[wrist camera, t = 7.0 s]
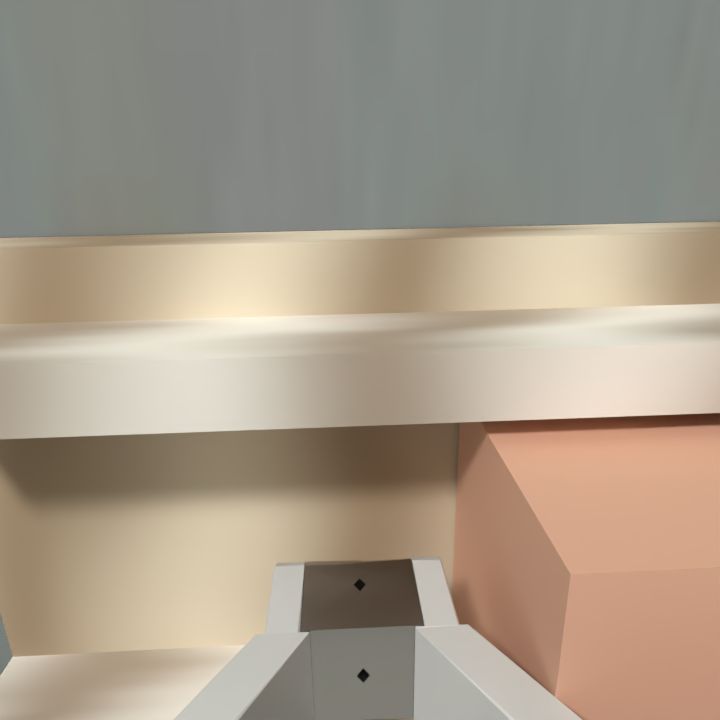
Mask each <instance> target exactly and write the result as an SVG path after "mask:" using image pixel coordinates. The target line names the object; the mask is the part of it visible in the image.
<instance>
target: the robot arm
mask: <svg viewBox="0 0 720 720" xmlns="http://www.w3.org/2000/svg"><path fill="white" fill-rule="evenodd" d="M407 718H414V720H582V719H581V718H580V717H578V716H577V715H576V714H575V713H574V712H572V711H571V710H570V709H569V708H568V707H566V706H565V705H564V704H563V703H562V702H560V701H559V700H558V699H557V698H555V697H554V696H553V695H552V694H551V693H550V692H548V691H547V690H546V689H545V688H544V687H543V686H541V685H540V684H539V683H538V682H537V681H535V680H534V679H533V678H532V677H531V676H529V675H528V674H527V673H526V672H525V671H523V670H522V669H521V668H520V667H519V666H517V665H516V664H515V663H514V662H513V661H511V660H510V659H509V658H508V657H507V656H505V655H504V654H503V653H502V652H501V651H499V650H498V649H497V648H496V647H495V646H494V645H492V644H491V643H490V642H489V641H488V640H486V639H485V638H484V637H483V636H482V635H480V634H479V633H478V632H477V631H476V630H474V629H473V628H472V627H471V626H470V625H468V624H466V625H460V624H459V621H458V617H457V614H456V610H455V607H454V603H453V600H452V596H451V593H450V589H449V585H448V582H447V578H446V575H445V571H444V568H443V564H442V561H441V558H440V557H439V556H424V557H410V559H409V558H407V559H386V560H366V561H362V560H358V561H308V562H306V563H305V562H283V563H276V565H275V567H274V572H273V579H272V585H271V592H270V599H269V606H268V612H267V619H266V626H265V632H264V634H258V635H255V636H254V637H253V638H252V639H251V640H250V641H249V642H248V643H247V644H246V645H245V646H244V647H243V648H242V649H241V650H240V651H239V652H238V653H237V654H236V655H235V656H234V657H233V658H232V659H231V660H230V662H229V663H228V664H227V665H226V666H225V667H224V668H223V669H222V670H221V671H220V672H219V673H218V674H217V675H216V676H215V677H214V678H213V679H212V680H211V681H210V682H209V683H208V684H207V685H206V686H205V687H204V688H203V690H202V691H201V692H200V693H199V694H198V695H197V696H196V697H195V698H194V699H193V700H192V701H191V702H190V703H189V704H188V705H187V706H186V707H185V708H184V709H183V710H182V711H181V712H180V713H179V714H178V715H177V716H176V718H175V719H174V720H366V719H407Z"/></svg>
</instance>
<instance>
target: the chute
mask: <svg viewBox="0 0 720 720" xmlns="http://www.w3.org/2000/svg"><path fill="white" fill-rule="evenodd" d="M704 413H720V222H684V223H641V224H597V225H554V226H511V227H467V228H424V229H380V230H337V231H293V232H250V233H206V234H163V235H119V236H76V237H32V238H0V613H1V616H2V620H3V623H4V627H5V631H6V634H7V638H8V641H9V645H10V648H11V652H12V656H13V657H12V659H11V660H10V662H9V664H8V665H7V667H6V668H5V670H4V671H3V673H2V674H1V676H0V720H174V719H175V718H176V716H177V715H178V714H179V713H180V712H181V711H182V710H183V709H184V708H185V707H186V706H187V705H188V704H189V703H190V702H191V701H192V700H193V699H194V698H195V697H196V696H197V695H198V694H199V693H200V692H201V691H202V690H203V688H204V687H205V686H206V685H207V684H208V683H209V682H210V681H211V680H212V679H213V678H214V677H215V676H216V675H217V674H218V673H219V672H220V671H221V670H222V669H223V668H224V667H225V666H226V665H227V664H228V663H229V662H230V660H231V659H232V658H233V657H234V656H235V655H236V654H237V653H238V652H239V651H240V650H241V649H242V648H243V647H244V646H245V645H246V644H247V643H248V642H249V641H250V640H251V639H252V638H253V637H254V636H255V635H258V634H264V632H265V626H266V619H267V612H268V606H269V599H270V592H271V585H272V579H273V572H274V567H275V565H276V563H283V562H305V563H306V562H308V561H358V560H362V561H366V560H386V559H407V558H409V559H410V557H424V556H439V557H440V558H441V561H442V564H443V568H444V571H445V575H446V578H447V582H448V585H449V589H450V593H451V596H452V584H453V561H454V537H455V514H456V491H457V468H458V445H459V422H486V421H513V420H541V419H568V418H595V417H622V416H650V415H677V414H704ZM366 720H414V718H407V719H366Z"/></svg>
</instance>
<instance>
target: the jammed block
mask: <svg viewBox="0 0 720 720" xmlns="http://www.w3.org/2000/svg"><path fill="white" fill-rule="evenodd" d="M452 600H453V603H454V607H455V610H456V614H457V617H458V621H459V624H460V625H466V624H468V625H470V626H471V627H472V628H473V629H474V630H476V631H477V632H478V633H479V634H480V635H482V636H483V637H484V638H485V639H486V640H488V641H489V642H490V643H491V644H492V645H494V646H495V647H496V648H497V649H498V650H499V651H501V652H502V653H503V654H504V655H505V656H507V657H508V658H509V659H510V660H511V661H513V662H514V663H515V664H516V665H517V666H519V667H520V668H521V669H522V670H523V671H525V672H526V673H527V674H528V675H529V676H531V677H532V678H533V679H534V680H535V681H537V682H538V683H539V684H540V685H541V686H543V687H544V688H545V689H546V690H547V691H548V692H550V693H551V694H552V695H553V696H554V697H555V698H557V699H558V700H559V701H560V702H562V703H563V704H564V705H565V706H566V707H568V708H569V709H570V710H571V711H572V712H574V713H575V714H576V715H577V716H578V717H580V718H581V719H582V720H720V413H704V414H677V415H650V416H622V417H595V418H568V419H541V420H513V421H486V422H459V445H458V468H457V491H456V514H455V537H454V561H453V584H452Z"/></svg>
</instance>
